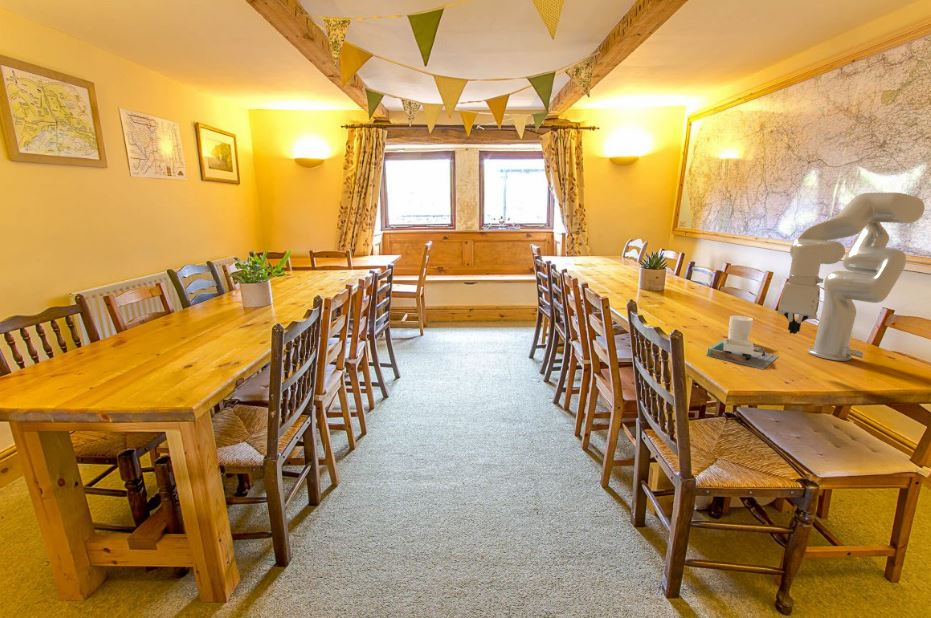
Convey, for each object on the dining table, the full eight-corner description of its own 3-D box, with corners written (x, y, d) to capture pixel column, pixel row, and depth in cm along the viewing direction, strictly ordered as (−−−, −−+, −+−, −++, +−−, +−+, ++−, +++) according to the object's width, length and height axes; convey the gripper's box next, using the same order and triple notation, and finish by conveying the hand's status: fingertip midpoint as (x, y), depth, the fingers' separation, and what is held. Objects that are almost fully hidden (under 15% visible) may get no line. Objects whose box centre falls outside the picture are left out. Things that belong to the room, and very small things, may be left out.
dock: (778, 356, 158) (779, 350, 157) (763, 369, 146) (764, 362, 145) (724, 344, 171) (725, 338, 170) (706, 355, 158) (707, 348, 158)
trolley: (762, 356, 156) (764, 343, 155) (764, 363, 149) (766, 350, 148) (721, 350, 162) (724, 338, 161) (722, 357, 155) (724, 344, 154)
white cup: (752, 345, 170) (756, 321, 168) (730, 343, 172) (734, 320, 169) (743, 339, 178) (748, 316, 175) (723, 337, 179) (727, 314, 177)
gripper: (834, 281, 138) (823, 334, 143) (778, 275, 149) (770, 325, 154) (829, 285, 133) (818, 340, 138) (772, 279, 144) (764, 330, 149)
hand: (793, 332), depth 146 cm, fingers closed
